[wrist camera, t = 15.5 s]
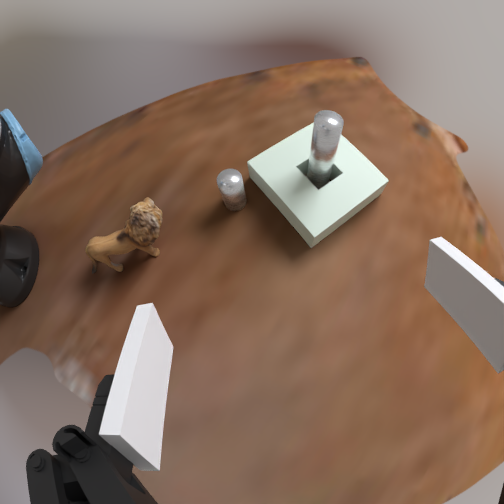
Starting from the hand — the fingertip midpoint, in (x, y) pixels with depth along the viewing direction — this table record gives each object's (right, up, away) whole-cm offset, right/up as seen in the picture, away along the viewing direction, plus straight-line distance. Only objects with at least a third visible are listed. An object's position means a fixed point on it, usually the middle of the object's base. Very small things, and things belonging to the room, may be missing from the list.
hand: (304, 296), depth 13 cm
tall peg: (+7, +12, +30) cm, 33 cm away
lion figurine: (-19, +2, +29) cm, 35 cm away
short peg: (-5, +9, +30) cm, 32 cm away
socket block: (+7, +12, +30) cm, 33 cm away
